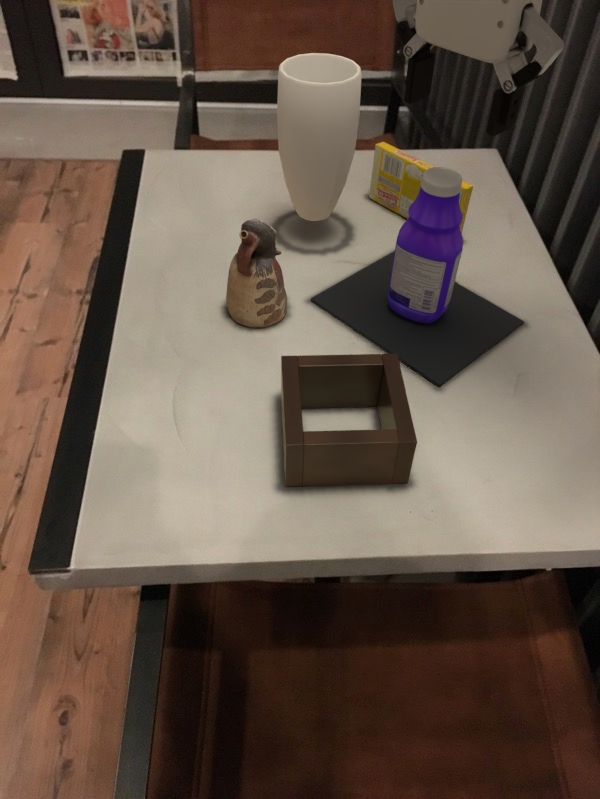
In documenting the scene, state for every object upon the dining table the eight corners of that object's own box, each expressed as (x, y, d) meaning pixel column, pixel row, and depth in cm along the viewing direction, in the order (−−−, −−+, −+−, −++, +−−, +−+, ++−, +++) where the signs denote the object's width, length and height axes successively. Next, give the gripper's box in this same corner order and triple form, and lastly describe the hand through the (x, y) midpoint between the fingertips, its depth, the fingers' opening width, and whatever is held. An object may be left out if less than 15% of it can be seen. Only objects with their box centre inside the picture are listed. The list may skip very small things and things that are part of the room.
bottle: (454, 308, 82) (485, 173, 70) (434, 333, 79) (464, 197, 67) (400, 287, 85) (421, 154, 73) (379, 311, 82) (397, 176, 69)
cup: (323, 203, 99) (331, 45, 84) (365, 238, 93) (383, 74, 78) (261, 223, 95) (258, 61, 80) (301, 260, 89) (306, 93, 74)
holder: (390, 395, 73) (397, 353, 68) (407, 483, 65) (417, 442, 60) (281, 397, 72) (281, 355, 68) (285, 486, 64) (285, 445, 60)
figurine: (298, 305, 83) (300, 217, 74) (263, 336, 79) (261, 247, 70) (251, 284, 85) (248, 197, 77) (215, 313, 81) (207, 225, 73)
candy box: (462, 240, 94) (475, 184, 88) (452, 246, 92) (464, 190, 87) (377, 193, 102) (383, 139, 96) (367, 197, 101) (373, 143, 95)
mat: (523, 323, 81) (524, 321, 81) (438, 387, 74) (439, 384, 73) (397, 251, 91) (397, 249, 91) (310, 300, 83) (310, 298, 83)
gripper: (622, -96, 50) (557, 133, 62) (437, -127, 59) (412, 79, 71) (567, -82, 46) (509, 158, 59) (378, -117, 55) (362, 98, 67)
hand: (456, 114), depth 65 cm, fingers open, 9 cm apart
